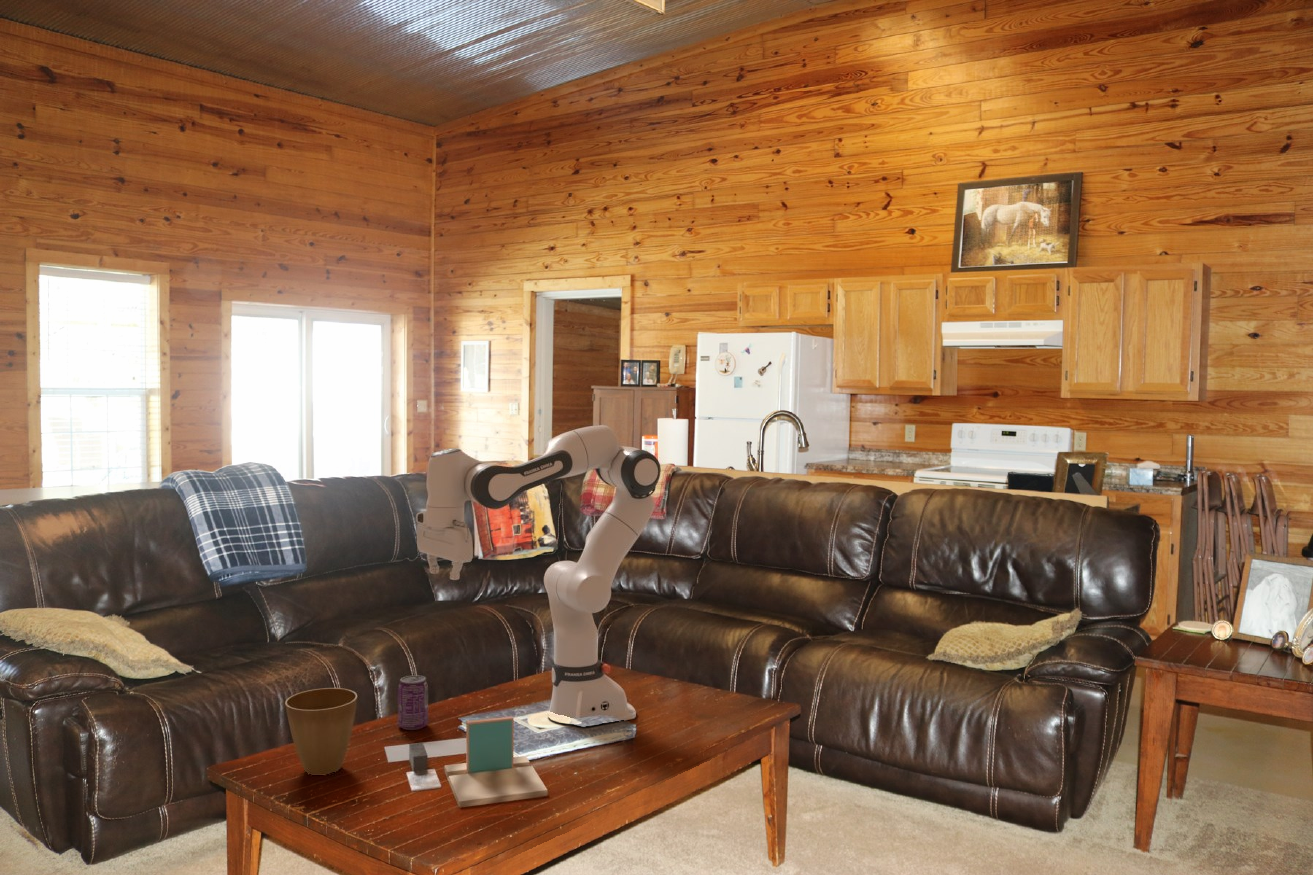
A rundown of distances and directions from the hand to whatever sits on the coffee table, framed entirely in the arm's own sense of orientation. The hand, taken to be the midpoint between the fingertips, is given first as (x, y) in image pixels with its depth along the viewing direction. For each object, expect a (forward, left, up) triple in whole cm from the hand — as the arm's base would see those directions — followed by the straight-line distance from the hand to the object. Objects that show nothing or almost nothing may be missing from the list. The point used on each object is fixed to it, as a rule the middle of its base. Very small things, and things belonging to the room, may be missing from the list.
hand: (444, 576), depth 239 cm
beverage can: (+6, -11, -39) cm, 41 cm away
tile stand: (-6, +31, -39) cm, 50 cm away
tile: (-6, +26, -39) cm, 47 cm away
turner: (+8, +21, -39) cm, 45 cm away
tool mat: (+3, +7, -39) cm, 40 cm away
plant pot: (+28, +11, -39) cm, 49 cm away
